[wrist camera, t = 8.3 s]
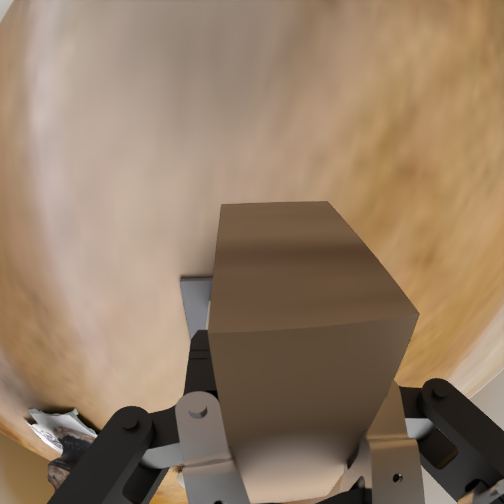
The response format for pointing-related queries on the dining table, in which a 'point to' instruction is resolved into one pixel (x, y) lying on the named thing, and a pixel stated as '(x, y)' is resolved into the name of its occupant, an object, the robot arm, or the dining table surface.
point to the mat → (196, 302)
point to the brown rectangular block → (300, 343)
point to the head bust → (62, 441)
